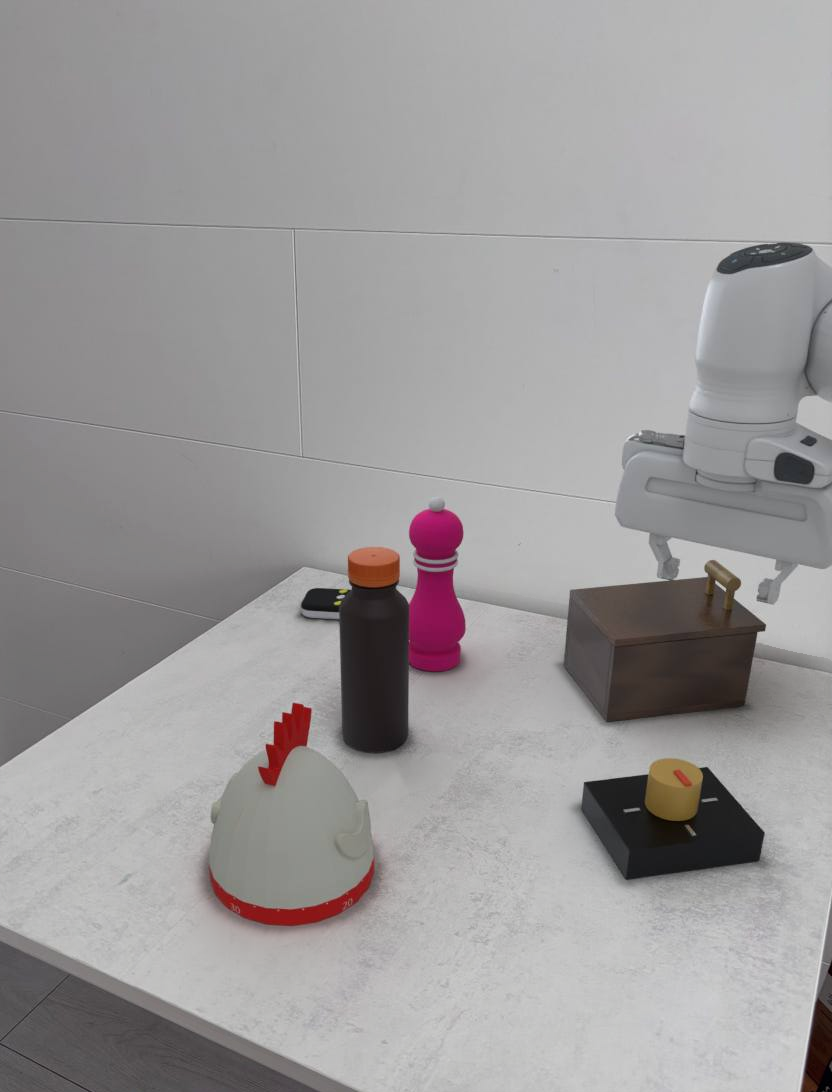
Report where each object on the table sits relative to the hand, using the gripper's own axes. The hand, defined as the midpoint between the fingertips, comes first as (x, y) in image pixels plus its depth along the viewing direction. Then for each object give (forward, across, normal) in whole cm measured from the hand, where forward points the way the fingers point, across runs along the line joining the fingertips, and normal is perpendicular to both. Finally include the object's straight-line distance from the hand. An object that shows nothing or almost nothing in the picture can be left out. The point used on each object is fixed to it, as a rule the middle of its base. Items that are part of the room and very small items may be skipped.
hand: (715, 588), depth 95 cm
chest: (+17, -8, +9) cm, 21 cm away
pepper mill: (+17, -31, 0) cm, 35 cm away
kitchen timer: (+17, -20, -39) cm, 47 cm away
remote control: (+17, -47, +4) cm, 50 cm away
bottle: (+17, -27, -18) cm, 36 cm away
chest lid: (+8, -8, +9) cm, 14 cm away
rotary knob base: (+17, +4, -16) cm, 23 cm away
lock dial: (+14, +4, -15) cm, 21 cm away
